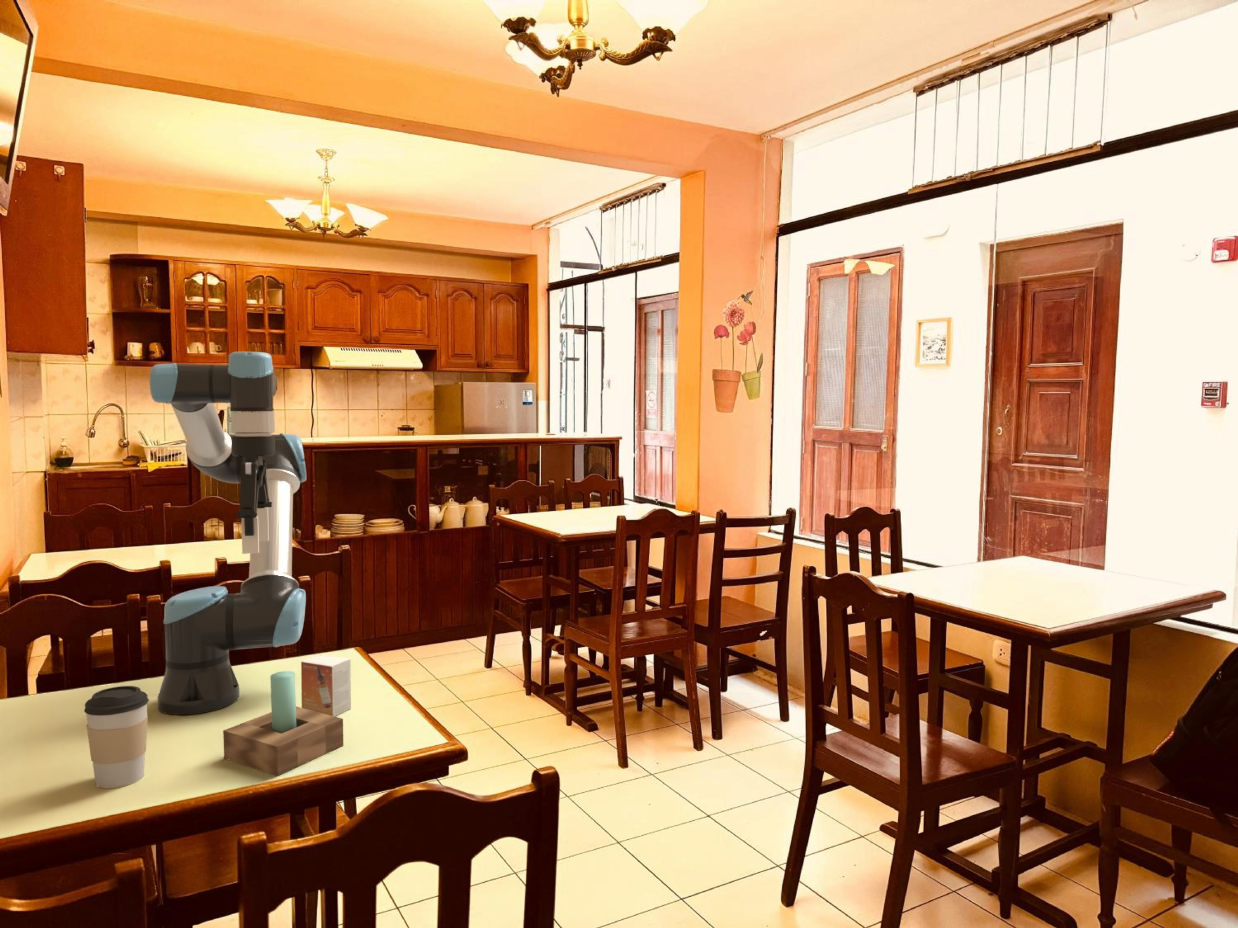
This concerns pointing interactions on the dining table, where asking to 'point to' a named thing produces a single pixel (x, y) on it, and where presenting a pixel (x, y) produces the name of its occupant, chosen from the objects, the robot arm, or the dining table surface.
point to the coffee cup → (117, 735)
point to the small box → (326, 684)
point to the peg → (283, 701)
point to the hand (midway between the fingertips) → (256, 547)
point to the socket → (283, 741)
